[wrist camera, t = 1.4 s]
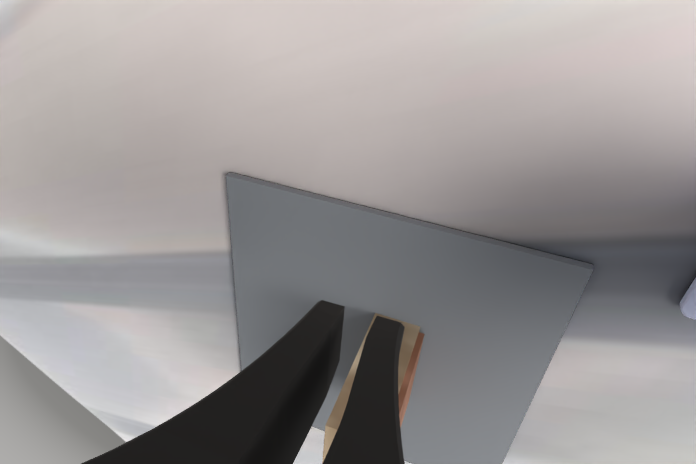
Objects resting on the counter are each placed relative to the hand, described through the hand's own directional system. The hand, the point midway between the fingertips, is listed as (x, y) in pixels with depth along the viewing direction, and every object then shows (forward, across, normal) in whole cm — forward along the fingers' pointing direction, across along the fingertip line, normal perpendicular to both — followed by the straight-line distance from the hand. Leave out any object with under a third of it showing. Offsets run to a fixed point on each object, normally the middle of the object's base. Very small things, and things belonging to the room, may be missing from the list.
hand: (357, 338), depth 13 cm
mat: (+10, +1, +12) cm, 16 cm away
